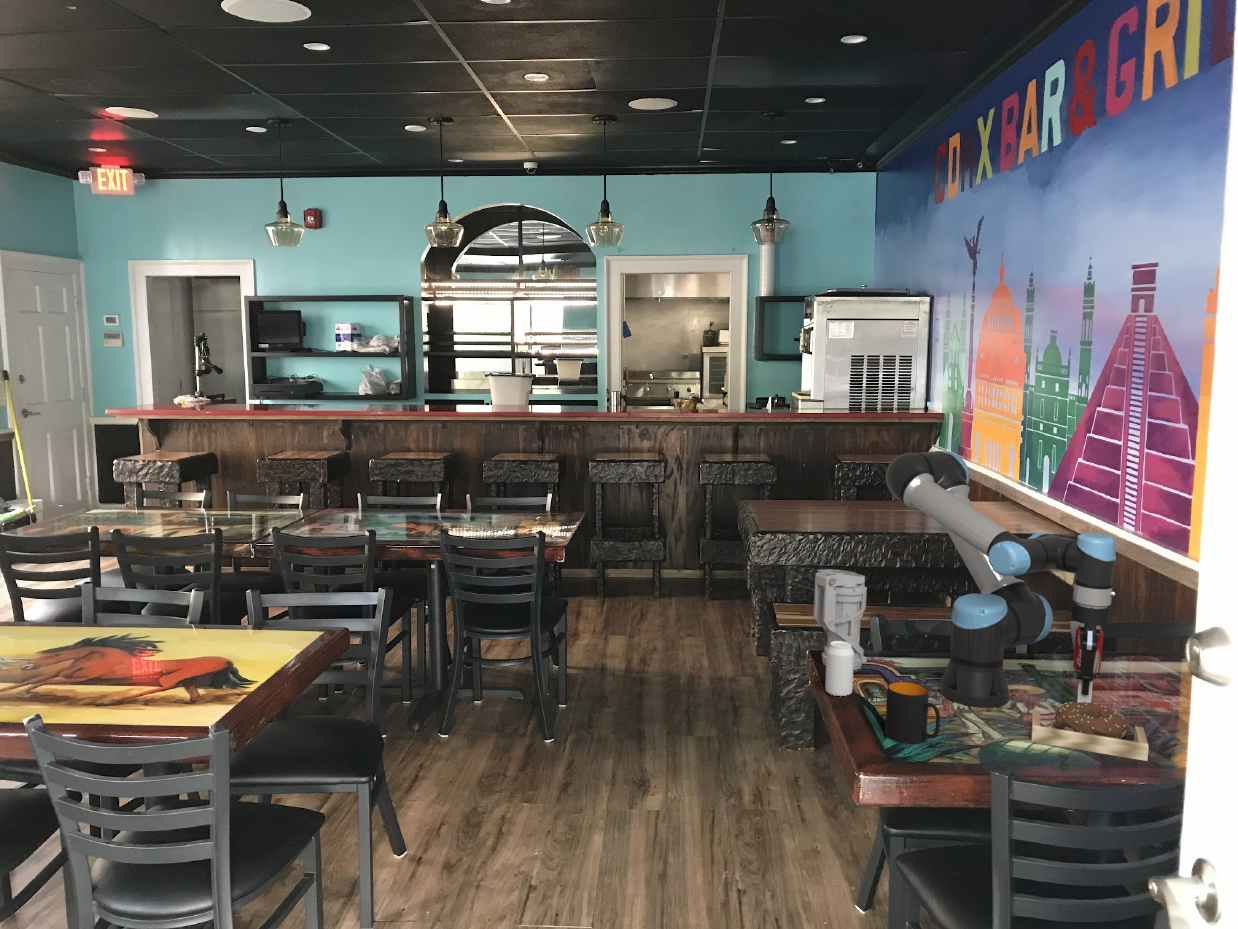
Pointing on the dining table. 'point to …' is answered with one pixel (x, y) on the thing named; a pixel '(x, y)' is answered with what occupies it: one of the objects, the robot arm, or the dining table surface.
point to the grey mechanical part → (840, 609)
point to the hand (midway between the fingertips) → (1083, 706)
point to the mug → (908, 713)
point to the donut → (1091, 720)
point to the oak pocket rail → (1091, 741)
